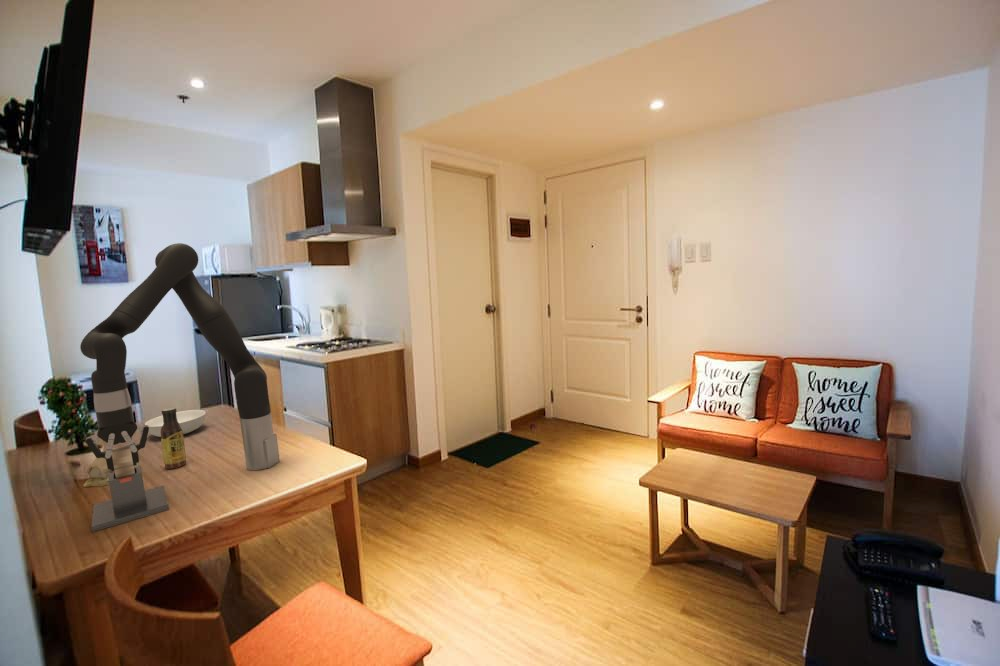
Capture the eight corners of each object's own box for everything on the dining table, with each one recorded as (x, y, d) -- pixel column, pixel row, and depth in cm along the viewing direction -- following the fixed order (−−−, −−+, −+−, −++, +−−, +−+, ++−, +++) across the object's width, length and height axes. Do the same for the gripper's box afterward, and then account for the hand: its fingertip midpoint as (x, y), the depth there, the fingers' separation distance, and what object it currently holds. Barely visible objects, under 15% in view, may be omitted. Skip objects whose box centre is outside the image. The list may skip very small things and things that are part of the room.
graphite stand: (164, 490, 141) (158, 456, 140) (168, 509, 129) (163, 473, 128) (94, 509, 131) (88, 473, 130) (92, 532, 119) (85, 493, 118)
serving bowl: (166, 427, 205) (163, 412, 204) (217, 423, 207) (214, 407, 206) (135, 444, 184) (132, 427, 183) (191, 439, 186) (189, 423, 185)
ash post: (139, 498, 133) (130, 444, 131) (140, 503, 130) (130, 448, 128) (120, 503, 130) (111, 448, 128) (120, 509, 127) (111, 453, 125)
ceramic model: (104, 488, 145) (99, 457, 144) (75, 487, 148) (70, 456, 146) (146, 469, 159) (142, 440, 158) (119, 468, 161) (114, 440, 160)
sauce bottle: (175, 470, 156) (166, 412, 153) (160, 469, 157) (150, 412, 155) (192, 462, 163) (183, 406, 160) (176, 461, 164) (168, 406, 161)
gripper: (145, 398, 134) (155, 456, 136) (79, 410, 125) (90, 471, 127) (147, 403, 128) (157, 463, 130) (77, 415, 119) (89, 480, 121)
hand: (124, 467), depth 129 cm, fingers closed on ash post, 4 cm apart
